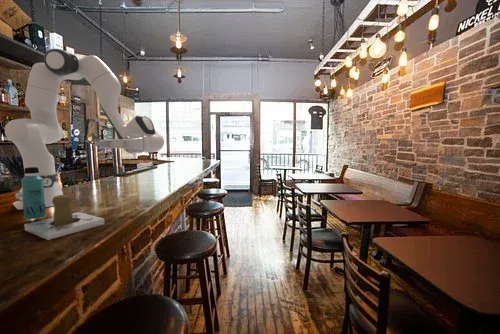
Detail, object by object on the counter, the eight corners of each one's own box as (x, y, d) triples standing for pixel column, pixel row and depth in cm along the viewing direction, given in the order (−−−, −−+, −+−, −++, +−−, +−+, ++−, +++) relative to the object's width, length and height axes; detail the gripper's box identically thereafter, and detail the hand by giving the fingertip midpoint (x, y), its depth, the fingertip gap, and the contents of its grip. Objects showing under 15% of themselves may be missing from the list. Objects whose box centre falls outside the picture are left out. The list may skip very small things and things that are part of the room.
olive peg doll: (66, 229, 87) (64, 197, 86) (48, 229, 87) (45, 197, 86) (78, 223, 93) (76, 193, 92) (61, 223, 93) (58, 193, 92)
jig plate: (24, 230, 87) (24, 224, 87) (79, 217, 101) (79, 212, 101) (48, 240, 78) (47, 233, 78) (104, 224, 93) (104, 218, 92)
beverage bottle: (20, 222, 96) (14, 167, 94) (40, 217, 102) (35, 166, 100) (31, 224, 93) (25, 168, 91) (51, 219, 99) (46, 166, 97)
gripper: (116, 136, 120) (86, 136, 108) (149, 135, 111) (120, 135, 99) (117, 150, 121) (87, 151, 108) (150, 150, 112) (121, 152, 99)
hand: (103, 144), depth 103 cm, fingers open, 8 cm apart
